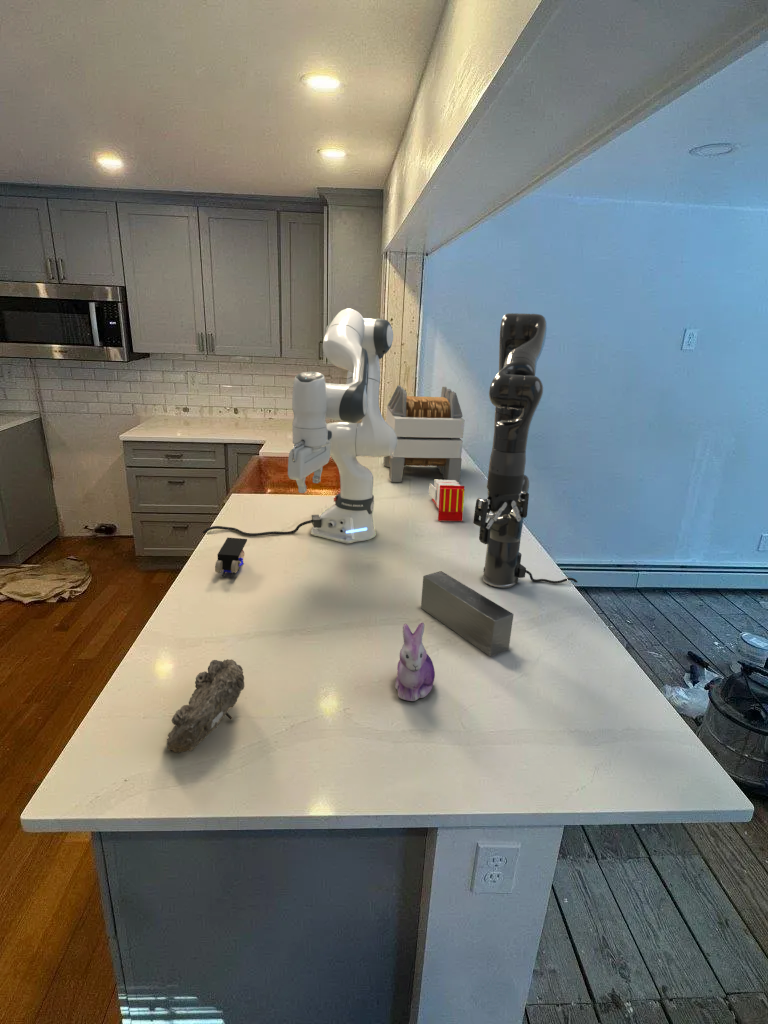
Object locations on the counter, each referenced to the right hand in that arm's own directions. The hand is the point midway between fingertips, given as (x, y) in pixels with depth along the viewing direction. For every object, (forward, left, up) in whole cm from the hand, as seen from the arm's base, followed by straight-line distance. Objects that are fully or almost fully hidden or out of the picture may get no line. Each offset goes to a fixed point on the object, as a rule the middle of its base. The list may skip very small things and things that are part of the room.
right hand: (498, 539), depth 127 cm
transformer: (-44, -141, -27) cm, 150 cm away
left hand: (+33, -42, +2) cm, 54 cm away
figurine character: (+53, -56, -27) cm, 82 cm away
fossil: (+64, +8, -27) cm, 70 cm away
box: (+2, -8, -27) cm, 28 cm away
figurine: (+23, +11, -27) cm, 37 cm away
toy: (-33, -90, -27) cm, 100 cm away
